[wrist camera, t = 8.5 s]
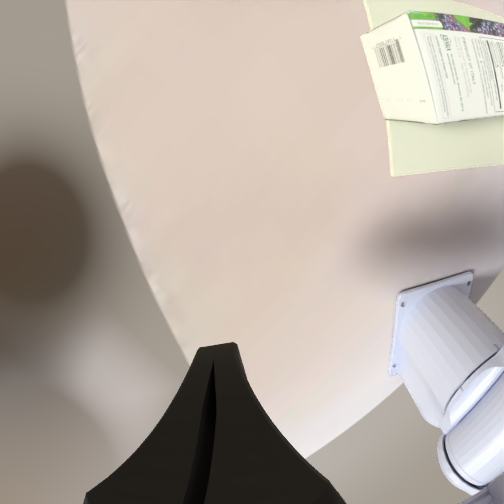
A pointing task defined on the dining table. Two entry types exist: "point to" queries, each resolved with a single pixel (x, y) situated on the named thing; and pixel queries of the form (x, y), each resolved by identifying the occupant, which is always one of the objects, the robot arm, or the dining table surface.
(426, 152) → the mat
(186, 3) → the dining table surface
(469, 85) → the syrup box
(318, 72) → the dining table surface
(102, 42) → the dining table surface
